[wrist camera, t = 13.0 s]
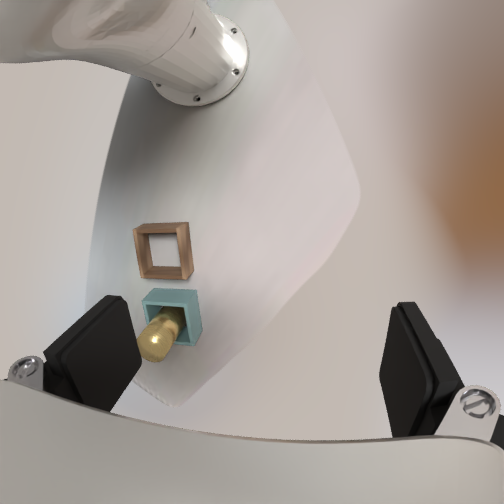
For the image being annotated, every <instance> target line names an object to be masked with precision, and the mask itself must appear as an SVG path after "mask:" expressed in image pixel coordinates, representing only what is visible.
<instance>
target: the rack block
mask: <svg viewBox="0 0 504 504" xmlns="http://www.w3.org/2000/svg"><path fill="white" fill-rule="evenodd" d="M142 305H143V309H144V314H145V318H146V322H147V325H148V324H149V323H150V322H151V320H152V319H153V318H154V317H155V315H156V314H157V313H158V312H159V311H160V309H161V307H160V306H176V307H184V310H185V316H186V322H187V327H186V326H184V327H183V329H182V330H181V332H180V334H179V335H178V337H177V338H176V340H175V342H174V343H173V344H177V345H187V346H195V344H196V342H197V340H198V338H199V336H200V334H201V332H202V324H201V317H200V311H199V304H198V297H197V290H183V289H160V288H154V289H153V290H152V291H151V292H150V293H149V294H148V295H147V296H146V297H145V298H144V299H143V300H142Z"/></svg>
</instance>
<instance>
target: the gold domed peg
mask: <svg viewBox="0 0 504 504" xmlns="http://www.w3.org/2000/svg"><path fill="white" fill-rule="evenodd" d="M185 324H186V316H185V310H184V307H176V306H163V307H162V308H161V309H160V311H159V312H158V313H157V314H156V315H155V317H154V318H153V319H152V320H151V322H150V323H149V324H148V325H147V327H146V328H145V329H144V330H143V332H142V333H141V334H140V335H139V337H138V338H137V339H136V340H137V344H138V347H139V351H140V354H141V356H142V357H143V358H144V359H146V360H148V361H151V362H160V361H162V360H163V359H164V358H165V356H166V354H167V353H168V351H169V350H170V348H171V346H172V345H173V343H174V342H175V340H176V338H177V337H178V335H179V334H180V332H181V330H182V329H183V327H184V326H185Z"/></svg>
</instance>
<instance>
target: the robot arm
mask: <svg viewBox="0 0 504 504" xmlns="http://www.w3.org/2000/svg"><path fill="white" fill-rule="evenodd" d="M234 32H237V33H236V34H233V33H234ZM50 60H79V61H86V62H90V63H94V64H98V65H102V66H106V67H109V68H113V69H115V70H119V71H122V72H125V73H128V74H131V75H134V76H137V77H140V78H143V79H146V80H149V81H151V82H152V84H153V86H154V87H155V89H156V90H157V91H158V92H159V94H160V95H161V96H163V97H164V98H166V99H167V100H169V101H171V102H174V103H176V104H180V105H184V106H202V105H206V104H210V103H213V102H215V101H217V100H219V99H221V98H223V97H224V96H226V95H227V94H229V93H230V92H231V91H232V90H233V89H234V88H235V87H236V86H237V85H238V83H239V82H240V81H241V79H242V78H243V76H244V74H245V72H246V69H247V66H248V62H249V47H248V42H247V40H246V38H245V35H244V34H243V32H242V30H241V29H240V28H239V27H238V26H237V25H236V24H235V23H234V22H233V21H231V20H230V19H228V18H226V17H224V16H222V15H219V14H214V13H212V12H211V11H210V6H209V5H207V0H0V63H29V62H40V61H50ZM236 72H239V74H238V75H235V73H236ZM161 85H162V86H161ZM198 98H200V101H197V99H198ZM43 353H44V355H45V357H46V360H47V361H46V362H45V363H43V360H42V359H41V358H39V357H37V356H27V357H24V358H21V359H19V360H18V361H16V362H15V363H14V364H13V365H12V366H11V367H10V369H9V373H8V379H4V380H0V504H504V416H503V415H500V414H499V413H500V407H501V404H500V400H499V399H498V397H497V395H496V394H495V393H494V392H492V391H491V390H490V389H488V388H486V387H482V386H478V385H470V386H467V387H465V386H464V384H463V382H462V380H461V378H460V376H459V374H458V372H457V371H456V369H455V367H454V365H453V363H452V361H451V359H450V358H449V356H448V354H447V352H446V350H445V349H444V347H443V345H442V343H441V342H440V340H439V339H437V338H436V336H435V335H434V333H433V331H432V330H431V328H430V326H429V324H428V323H427V321H426V319H425V318H424V316H423V314H422V313H421V311H420V309H419V308H418V306H417V304H416V303H415V302H399V303H398V304H397V307H392V310H391V315H390V321H389V327H388V332H387V338H386V343H385V348H384V353H383V357H382V362H381V367H380V372H379V377H380V383H381V387H382V391H383V395H384V400H385V404H386V408H387V413H388V417H389V422H390V427H391V432H392V436H393V438H381V439H363V440H317V441H314V440H311V441H309V440H281V439H263V438H252V437H241V436H231V435H223V434H215V433H208V432H201V431H194V430H188V429H183V428H177V427H171V426H166V425H161V424H157V423H152V422H147V421H143V420H138V419H134V418H130V417H126V416H122V415H118V414H115V413H111V412H110V411H111V410H112V408H113V407H114V405H115V404H116V402H117V401H118V399H119V398H120V396H121V395H122V393H123V391H124V390H125V389H126V387H127V386H128V385H129V383H130V382H131V380H132V379H133V377H134V376H135V374H136V373H137V371H138V370H139V368H140V367H141V364H142V358H141V354H140V351H139V347H138V344H137V340H136V336H135V333H134V329H133V325H132V321H131V317H130V313H129V309H128V305H127V302H126V301H125V300H123V298H122V297H121V296H113V295H106V296H105V297H104V298H103V299H101V300H100V301H99V302H98V303H97V304H96V305H94V306H93V307H92V308H91V309H90V310H89V311H88V312H86V313H85V314H84V315H83V316H82V317H81V318H80V319H79V320H78V321H76V322H75V323H74V324H73V325H72V326H71V327H70V328H69V329H68V330H66V331H65V332H64V333H63V334H62V335H61V336H60V337H59V338H58V339H56V340H55V341H54V342H53V343H52V344H51V345H50V346H49V347H48V348H47V349H46V350H45V351H44V352H43Z"/></svg>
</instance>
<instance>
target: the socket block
mask: <svg viewBox="0 0 504 504" xmlns="http://www.w3.org/2000/svg"><path fill="white" fill-rule="evenodd" d="M174 232H177V240H178V248H179V255H180V263H181V267H167V266H153V263H152V257H151V251H150V244H149V238H148V233H174ZM133 235H134V241H135V248H136V254H137V259H138V265H139V270H140V276H141V278H155V279H186V280H187V278H188V277H189V276H190V275H191V273H192V272H193V271H194V266H193V258H192V250H191V241H190V232H189V223H188V222H177V223H150V224H142V225H140V226H139V227H137V228H135V229H133Z"/></svg>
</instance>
